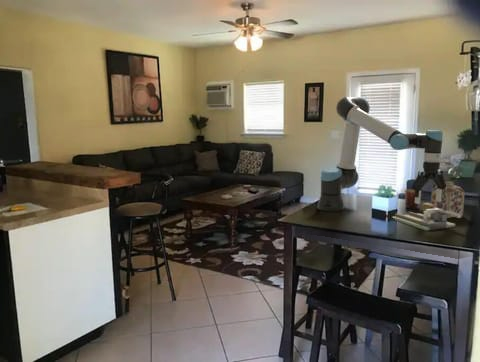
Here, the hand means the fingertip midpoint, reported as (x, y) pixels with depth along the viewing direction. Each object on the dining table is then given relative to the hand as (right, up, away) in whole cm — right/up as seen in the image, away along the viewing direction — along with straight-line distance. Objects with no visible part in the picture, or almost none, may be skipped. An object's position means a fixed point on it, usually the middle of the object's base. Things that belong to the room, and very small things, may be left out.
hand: (427, 202), depth 197 cm
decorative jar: (+16, -8, +13) cm, 22 cm away
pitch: (-4, -10, -2) cm, 11 cm away
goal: (-3, -11, -10) cm, 15 cm away
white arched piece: (0, -9, -8) cm, 12 cm away
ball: (-3, -10, -10) cm, 14 cm away
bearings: (+3, -10, -5) cm, 12 cm away
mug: (+5, -5, +28) cm, 29 cm away
